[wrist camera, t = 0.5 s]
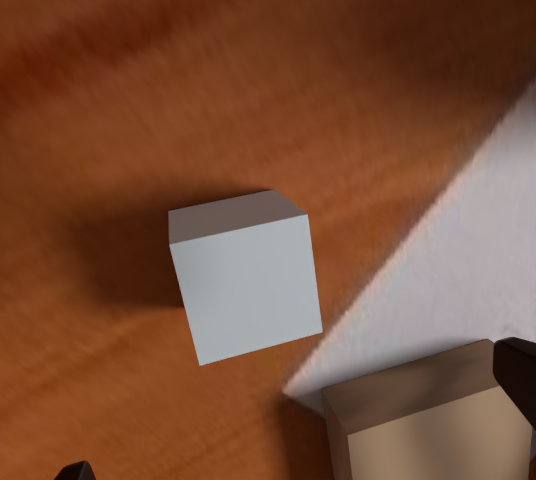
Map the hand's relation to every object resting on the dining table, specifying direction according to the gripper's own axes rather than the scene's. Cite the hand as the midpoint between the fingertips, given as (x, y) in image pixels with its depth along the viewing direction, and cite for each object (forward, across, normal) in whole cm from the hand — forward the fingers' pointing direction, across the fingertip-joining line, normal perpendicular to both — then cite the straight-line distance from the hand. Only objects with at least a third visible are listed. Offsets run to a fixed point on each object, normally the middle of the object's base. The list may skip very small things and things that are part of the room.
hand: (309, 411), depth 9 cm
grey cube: (+12, 0, 0) cm, 12 cm away
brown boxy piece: (+12, -9, +15) cm, 22 cm away
